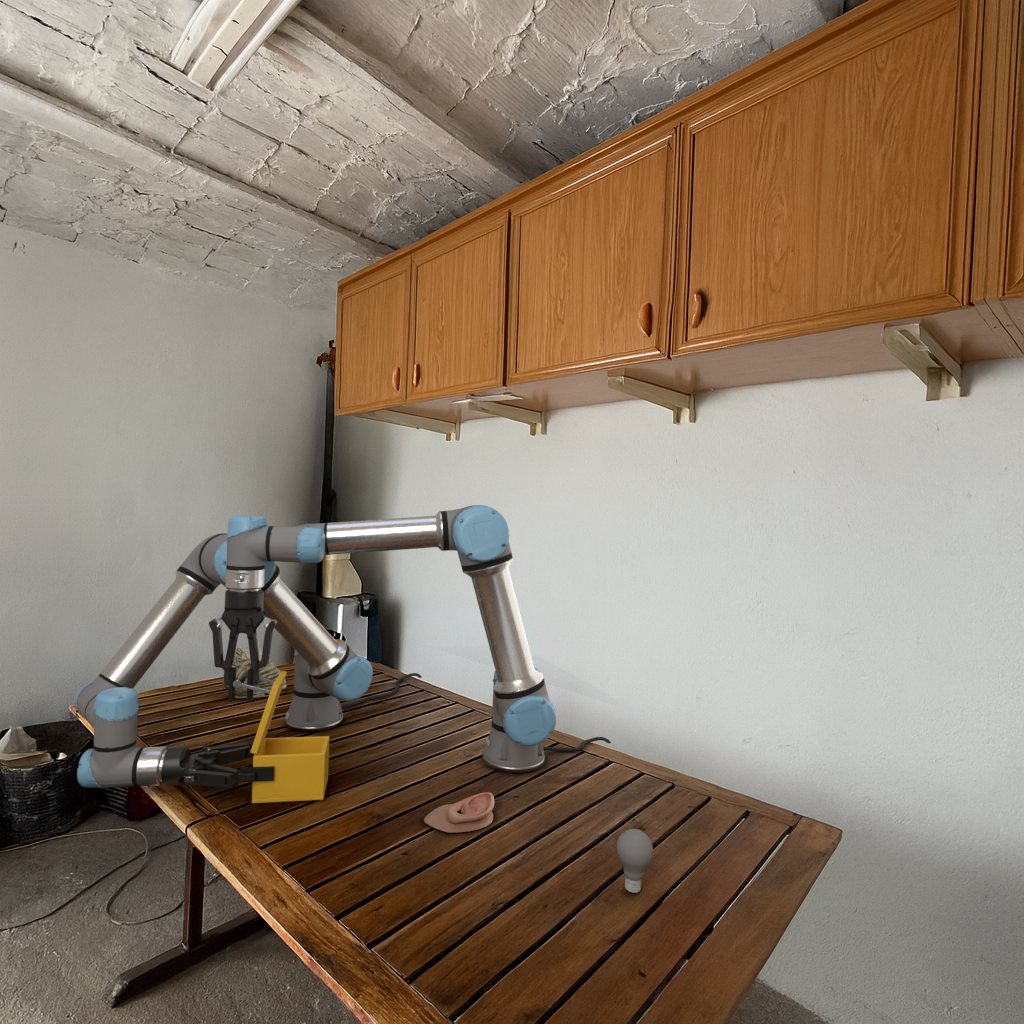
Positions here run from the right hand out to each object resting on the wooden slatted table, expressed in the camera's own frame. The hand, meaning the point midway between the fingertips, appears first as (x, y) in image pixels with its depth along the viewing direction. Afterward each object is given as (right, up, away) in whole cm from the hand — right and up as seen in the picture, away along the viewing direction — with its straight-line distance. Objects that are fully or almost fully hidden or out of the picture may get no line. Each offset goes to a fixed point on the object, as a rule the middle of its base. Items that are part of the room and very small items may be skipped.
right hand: (240, 699), depth 134 cm
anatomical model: (+47, -22, -7) cm, 52 cm away
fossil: (-23, -18, +64) cm, 71 cm away
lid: (+6, -3, +1) cm, 7 cm away
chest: (+10, -20, +2) cm, 23 cm away
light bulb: (+77, -24, -28) cm, 86 cm away
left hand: (+7, -14, +2) cm, 16 cm away
